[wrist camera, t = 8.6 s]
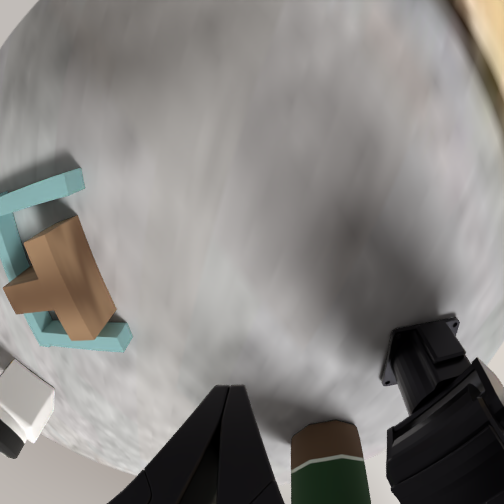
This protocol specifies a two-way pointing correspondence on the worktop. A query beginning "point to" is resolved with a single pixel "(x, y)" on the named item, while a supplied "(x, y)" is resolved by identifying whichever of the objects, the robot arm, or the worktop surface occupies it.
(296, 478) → the beer bottle
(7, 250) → the jig
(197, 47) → the worktop surface
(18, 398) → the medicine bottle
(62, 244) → the t block
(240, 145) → the worktop surface
